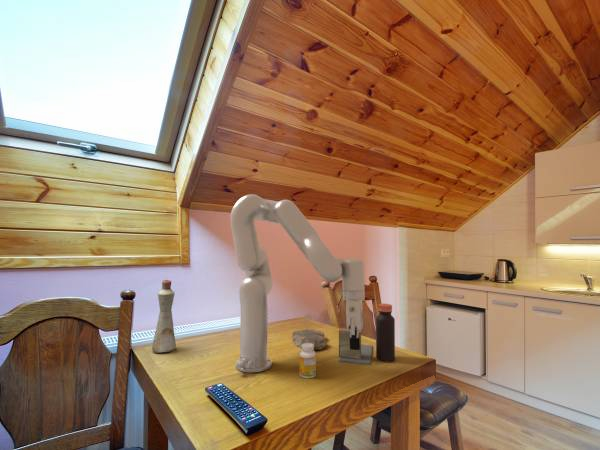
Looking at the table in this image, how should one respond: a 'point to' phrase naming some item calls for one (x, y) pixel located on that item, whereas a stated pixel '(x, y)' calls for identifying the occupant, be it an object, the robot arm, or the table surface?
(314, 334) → the grey rock
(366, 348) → the mat
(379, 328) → the vinegar
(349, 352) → the slab
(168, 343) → the bottle
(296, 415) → the table surface
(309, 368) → the supplement bottle
